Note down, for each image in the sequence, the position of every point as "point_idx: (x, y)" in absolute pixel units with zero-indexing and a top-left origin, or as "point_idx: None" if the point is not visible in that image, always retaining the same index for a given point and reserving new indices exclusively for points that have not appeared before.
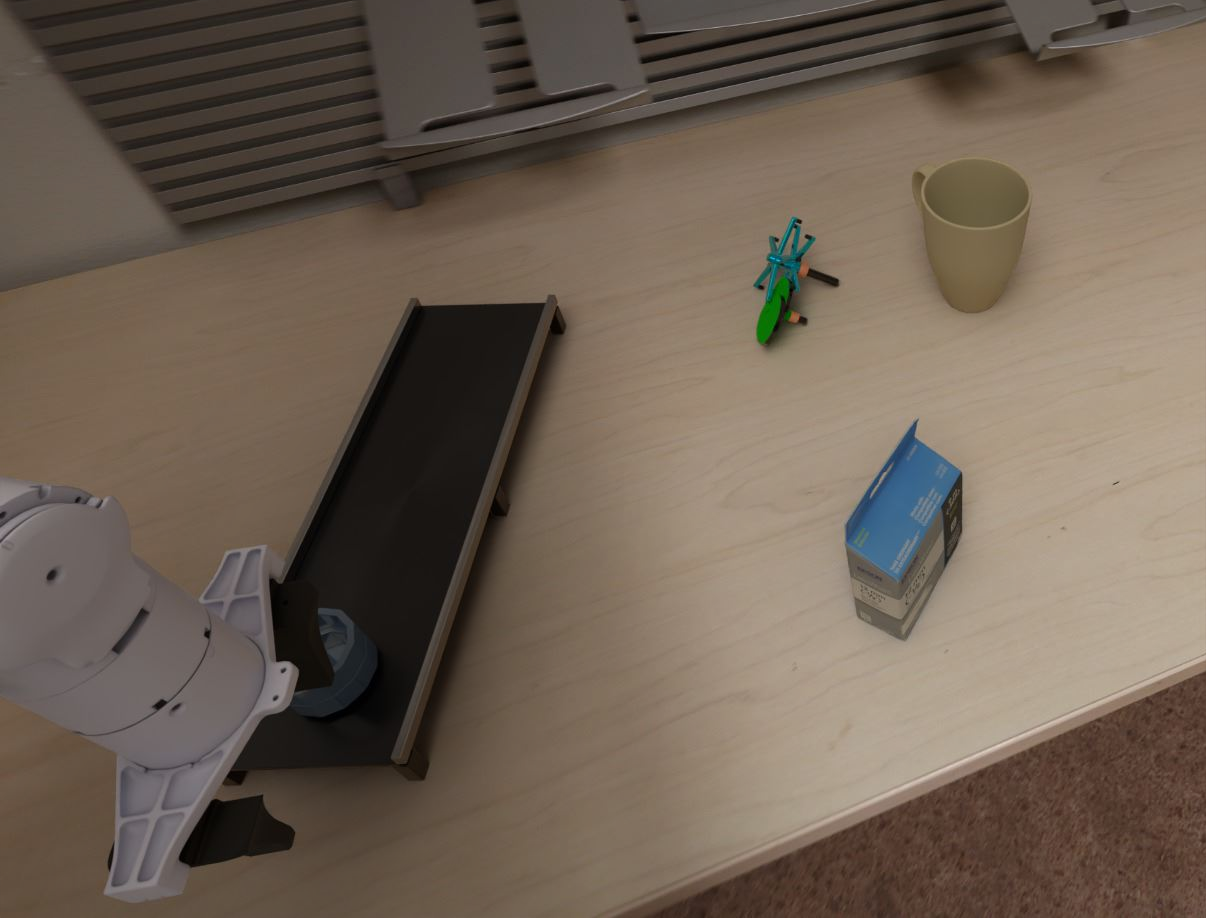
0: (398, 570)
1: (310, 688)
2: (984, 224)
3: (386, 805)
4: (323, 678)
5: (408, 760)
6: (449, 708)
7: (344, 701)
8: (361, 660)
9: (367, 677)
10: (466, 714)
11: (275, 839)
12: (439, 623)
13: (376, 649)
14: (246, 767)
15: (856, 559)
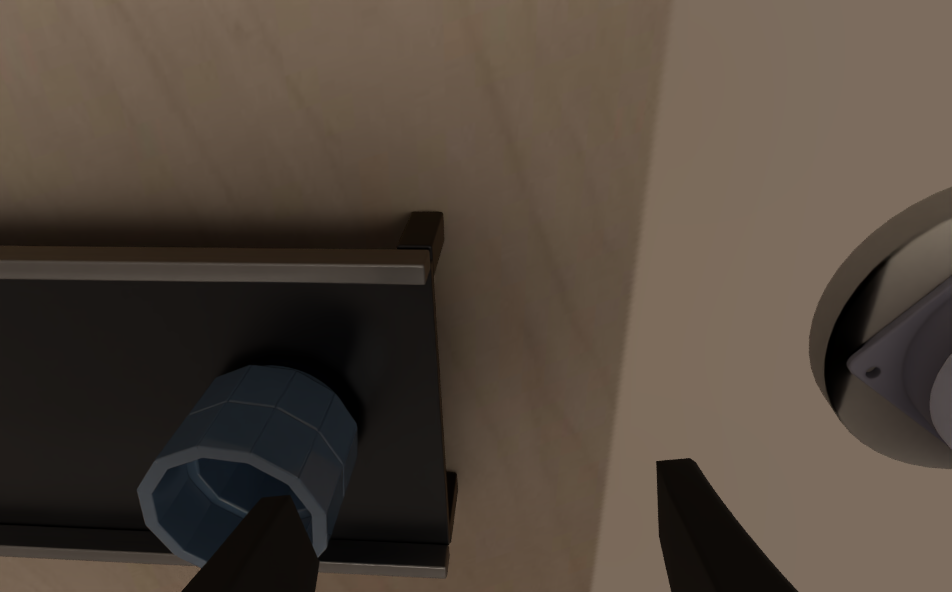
0: (68, 383)
1: (304, 536)
2: None
3: (484, 263)
4: (271, 539)
5: (420, 248)
6: (312, 205)
7: (325, 402)
8: (239, 407)
9: (274, 377)
10: (319, 168)
11: (756, 557)
12: (133, 274)
13: (220, 376)
14: (444, 497)
15: None
